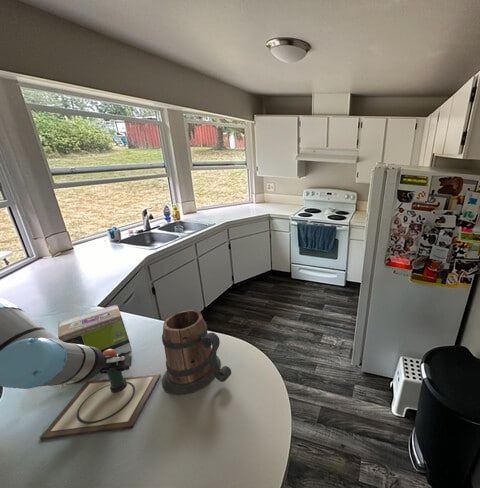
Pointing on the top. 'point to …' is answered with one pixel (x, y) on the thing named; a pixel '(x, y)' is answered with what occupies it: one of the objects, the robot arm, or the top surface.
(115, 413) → the sketch board
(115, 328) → the tea box
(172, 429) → the top surface
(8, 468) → the top surface
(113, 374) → the dot stamp
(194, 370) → the tankard
